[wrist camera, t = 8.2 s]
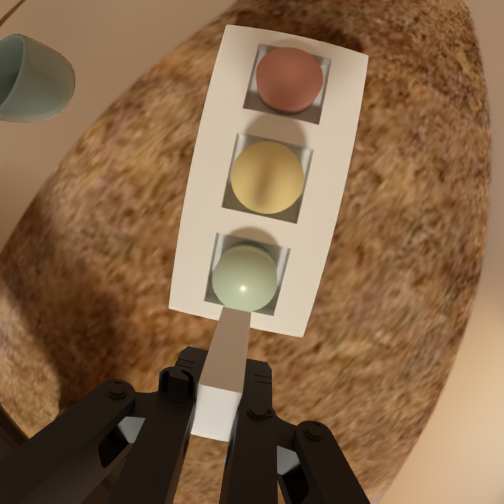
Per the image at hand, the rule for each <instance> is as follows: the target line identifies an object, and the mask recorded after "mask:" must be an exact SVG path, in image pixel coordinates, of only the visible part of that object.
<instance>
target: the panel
mask: <svg viewBox="0 0 504 504" xmlns="http://www.w3.org/2000/svg"><path fill="white" fill-rule="evenodd" d="M283 47H292V48H297V49H301V50H303V51H305V52H307V53H309V54H310V55H312V56H313V57H314V58H315V59H316V60H317V62H318V63H319V65H320V67H321V69H322V72H323V86H322V88H321V91H320V92H319V94H318V96H317V97H316V99H315V100H314V102H313V103H312V105H311V106H310V107H309V108H308V109H306V110H305V111H303V112H300V113H297V114H291V115H286V114H280V113H277V112H274V111H273V110H271V109H269V108H268V107H267V106H266V105H265V104H264V103H263V102H262V101H261V99H260V97H259V95H258V91H257V83H256V69H257V66H258V63H259V62H260V60H261V59H262V58H263V57H264V56H265V55H266V54H267V53H269V52H270V51H272V50H275V49H278V48H283ZM367 64H368V55H365V54H362V53H359V52H356V51H353V50H350V49H346V48H343V47H340V46H336V45H333V44H329V43H325V42H322V41H318V40H314V39H310V38H305V37H301V36H296V35H292V34H287V33H282V32H276V31H271V30H265V29H258V28H251V27H244V26H236V25H226V28H225V32H224V35H223V38H222V42H221V45H220V49H219V52H218V56H217V59H216V63H215V67H214V70H213V74H212V78H211V82H210V85H209V89H208V93H207V97H206V101H205V105H204V110H203V114H202V118H201V122H200V127H199V131H198V136H197V140H196V145H195V149H194V154H193V159H192V164H191V169H190V174H189V179H188V184H187V189H186V195H185V200H184V206H183V212H182V217H181V223H180V230H179V236H178V242H177V249H176V255H175V262H174V270H173V277H172V285H171V293H170V301H169V309H173V310H177V311H181V312H185V313H189V314H193V315H197V316H202V317H206V318H210V319H214V320H219V318H220V315H221V311H222V308H223V306H224V307H227V306H226V305H224V304H223V303H222V302H221V301H220V300H219V299H218V297H217V296H216V294H215V292H214V289H213V284H212V276H213V272H214V269H215V267H216V265H217V263H218V261H219V260H220V258H221V256H222V255H223V253H224V252H225V251H226V250H227V249H228V248H229V247H231V246H232V245H234V244H237V243H241V242H253V243H257V244H259V245H261V246H263V247H264V248H266V249H267V250H268V251H269V252H270V253H271V255H272V256H273V258H274V261H275V264H276V271H277V289H276V292H275V294H274V296H273V298H272V299H271V301H270V302H269V303H268V304H267V305H265V306H264V307H262V308H260V309H258V310H255V311H251V321H250V327H251V328H255V329H260V330H265V331H270V332H276V333H281V334H286V335H291V336H297V337H303V335H304V332H305V329H306V326H307V322H308V319H309V316H310V313H311V310H312V306H313V303H314V300H315V296H316V293H317V290H318V286H319V283H320V279H321V276H322V272H323V269H324V265H325V262H326V258H327V254H328V251H329V247H330V243H331V240H332V236H333V232H334V228H335V224H336V220H337V216H338V212H339V208H340V204H341V200H342V195H343V191H344V187H345V182H346V178H347V173H348V169H349V164H350V159H351V155H352V150H353V145H354V140H355V135H356V130H357V124H358V119H359V113H360V108H361V102H362V96H363V90H364V84H365V77H366V71H367ZM259 142H275V143H279V144H281V145H284V146H286V147H287V148H289V149H290V150H291V151H292V152H293V153H294V154H295V155H296V156H297V157H298V159H299V161H300V162H301V165H302V168H303V172H304V184H303V188H302V191H301V193H300V195H299V197H298V198H297V200H296V201H295V202H294V203H293V204H292V205H291V206H290V207H288V208H287V209H285V210H283V211H280V212H277V213H271V214H264V213H258V212H255V211H253V210H250V209H249V208H247V207H246V206H244V205H243V204H242V203H241V202H240V201H239V199H238V198H237V197H236V195H235V193H234V191H233V188H232V184H231V171H232V167H233V164H234V162H235V160H236V158H237V157H238V156H239V154H240V153H241V152H242V151H243V150H245V149H246V148H247V147H249V146H251V145H253V144H256V143H259ZM228 308H229V307H228Z"/></svg>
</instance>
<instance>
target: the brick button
mask: <svg viewBox="0 0 504 504" xmlns="http://www.w3.org/2000/svg"><path fill="white" fill-rule="evenodd" d="M256 83H257V91H258V95H259V97H260V99H261V101H262V102H263V103H264V104H265V105H266V106H267V107H268V108H269V109H271V110H273V111H274V112H277V113H280V114H286V115H291V114H297V113H300V112H303V111H305V110H306V109H308V108H309V107H310V106H311V105H312V103H313V102H314V100H315V99H316V97H317V96H318V94H319V92H320V91H321V88H322V86H323V72H322V69H321V67H320V65H319V63H318V62H317V60H316V59H315V58H314V57H313V56H312V55H310V54H309V53H307V52H305V51H303V50H301V49H297V48H292V47H283V48H278V49H275V50H272V51H270V52H269V53H267V54H266V55H265V56H264V57H263V58H262V59H261V60H260V62H259V63H258V66H257V69H256Z"/></svg>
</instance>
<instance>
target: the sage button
mask: <svg viewBox="0 0 504 504" xmlns="http://www.w3.org/2000/svg"><path fill="white" fill-rule="evenodd" d="M212 284H213V289H214V292H215V294H216V296H217V297H218V299H219V300H220V301H221V302H222V303H223V304H224V305H226V306H227V307H229V308H233V309H237V310H242V311H247V312H251V311H255V310H258V309H260V308H262V307H264V306H265V305H267V304H268V303H269V302H270V301H271V299H272V298H273V296H274V294H275V292H276V289H277V271H276V264H275V261H274V258H273V256H272V255H271V253H270V252H269V251H268V250H267V249H266V248H264V247H263V246H261V245H259V244H257V243H253V242H241V243H237V244H234V245H232V246H231V247H229V248H228V249H227V250H226V251H225V252H224V253H223V255H222V256H221V258H220V260H219V261H218V263H217V265H216V267H215V269H214V272H213V276H212Z"/></svg>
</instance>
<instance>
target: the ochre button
mask: <svg viewBox="0 0 504 504" xmlns="http://www.w3.org/2000/svg"><path fill="white" fill-rule="evenodd" d="M231 184H232V188H233V191H234V193H235V195H236V197H237V198H238V199H239V201H240V202H241V203H242V204H243V205H244V206H246V207H247V208H249V209H250V210H253V211H255V212H258V213H264V214H271V213H277V212H280V211H283V210H285V209H287V208H288V207H290V206H291V205H292V204H293V203H294V202H295V201H296V200H297V198H298V197H299V195H300V193H301V191H302V188H303V184H304V172H303V168H302V165H301V162H300V161H299V159H298V157H297V156H296V155H295V154H294V153H293V152H292V151H291V150H290V149H289V148H287V147H286V146H284V145H281V144H279V143H275V142H259V143H256V144H253V145H251V146H249V147H247V148H246V149H245V150H243V151H242V152H241V153H240V154H239V156H238V157H237V158H236V160H235V162H234V164H233V167H232V171H231Z"/></svg>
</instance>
